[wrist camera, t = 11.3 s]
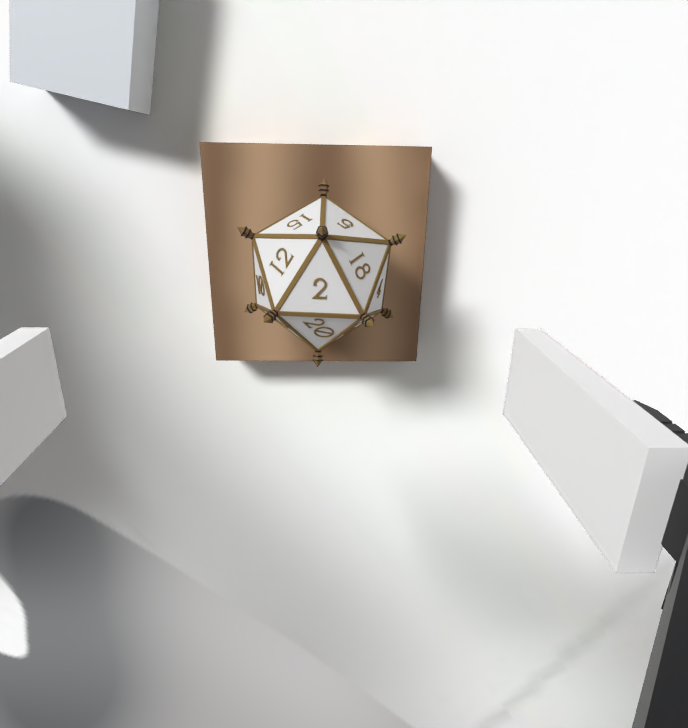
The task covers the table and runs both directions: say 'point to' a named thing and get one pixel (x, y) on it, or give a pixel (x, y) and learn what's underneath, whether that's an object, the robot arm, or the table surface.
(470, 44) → the table surface
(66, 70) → the card box
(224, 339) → the plinth
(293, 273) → the game die
